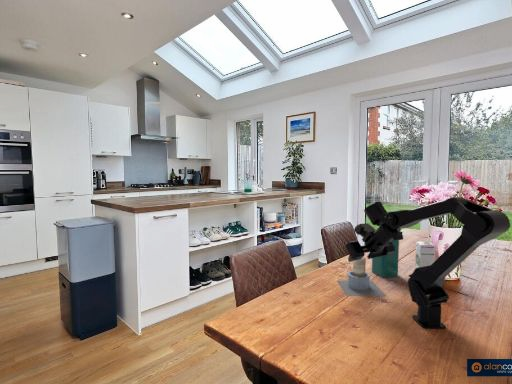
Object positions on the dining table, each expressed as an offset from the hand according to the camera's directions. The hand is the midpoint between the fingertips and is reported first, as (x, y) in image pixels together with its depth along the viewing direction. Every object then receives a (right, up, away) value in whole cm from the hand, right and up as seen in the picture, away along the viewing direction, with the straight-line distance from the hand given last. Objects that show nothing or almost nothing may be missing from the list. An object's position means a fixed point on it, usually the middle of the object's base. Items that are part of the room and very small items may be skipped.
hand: (358, 259), depth 111 cm
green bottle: (+17, -10, +14) cm, 24 cm away
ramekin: (0, -10, +1) cm, 10 cm away
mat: (0, -11, -1) cm, 11 cm away
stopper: (0, -9, +1) cm, 10 cm away
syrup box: (+30, -10, +10) cm, 33 cm away
